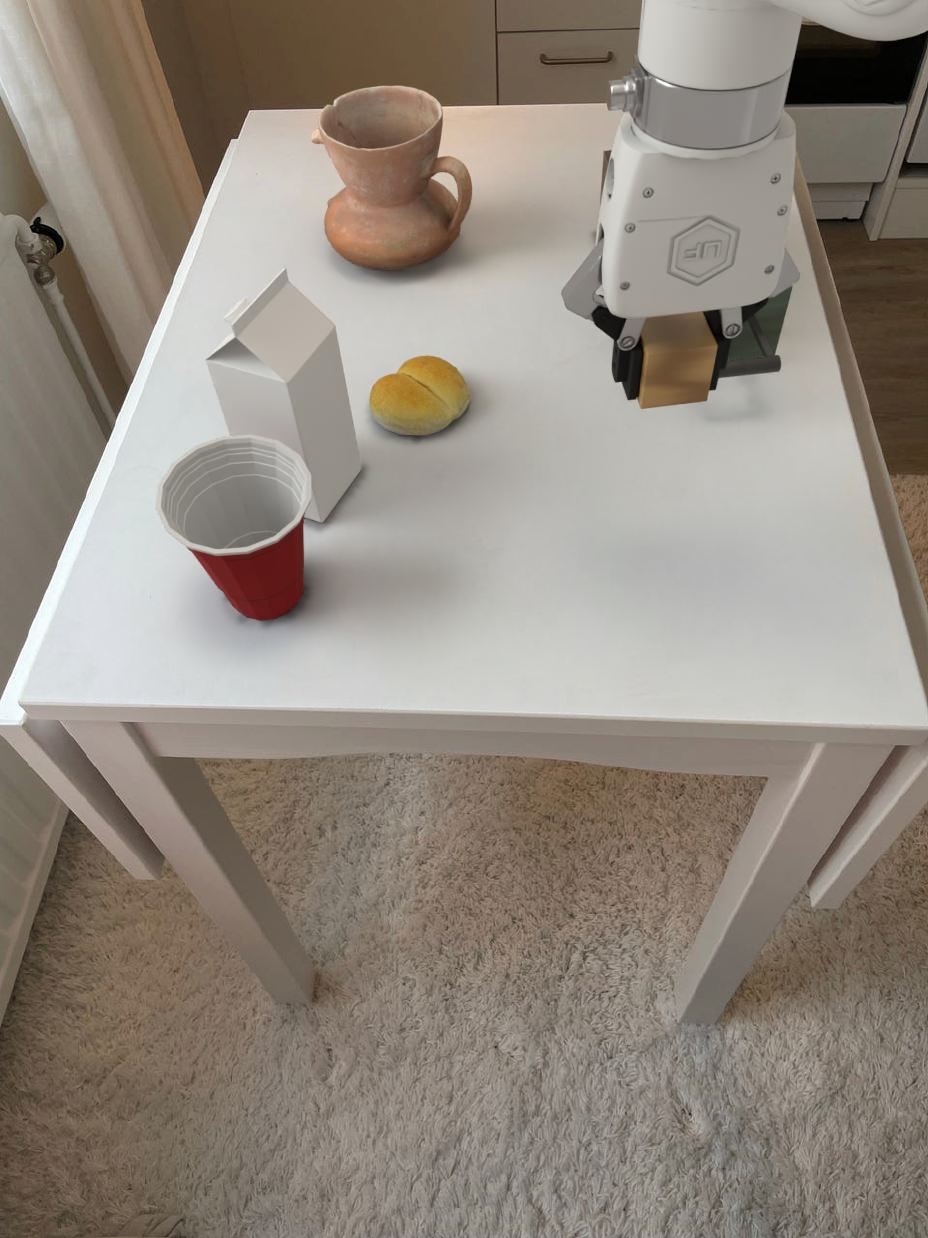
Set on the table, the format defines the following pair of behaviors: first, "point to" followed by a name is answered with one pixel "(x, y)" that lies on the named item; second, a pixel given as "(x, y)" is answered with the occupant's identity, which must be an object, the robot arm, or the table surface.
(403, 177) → the ceramic jug
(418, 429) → the bread roll
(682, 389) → the block
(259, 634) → the table surface
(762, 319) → the drawer
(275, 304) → the milk carton
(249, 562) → the plastic cup
